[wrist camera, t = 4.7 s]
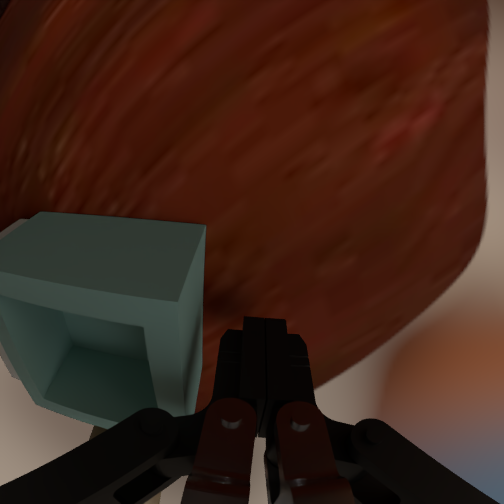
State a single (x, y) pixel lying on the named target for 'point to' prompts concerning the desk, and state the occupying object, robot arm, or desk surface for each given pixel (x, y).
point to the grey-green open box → (104, 314)
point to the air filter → (3, 6)
